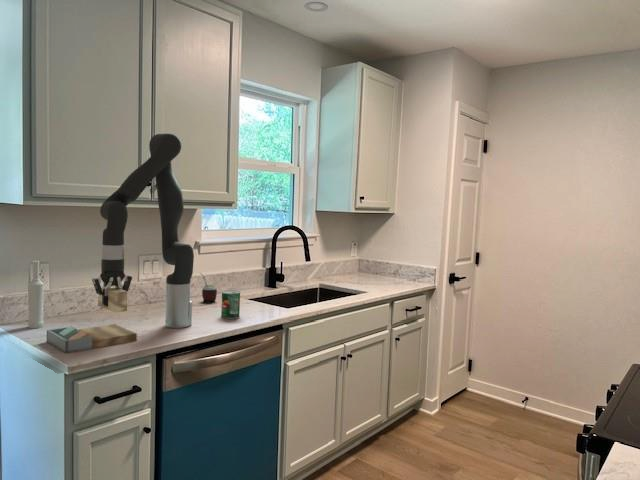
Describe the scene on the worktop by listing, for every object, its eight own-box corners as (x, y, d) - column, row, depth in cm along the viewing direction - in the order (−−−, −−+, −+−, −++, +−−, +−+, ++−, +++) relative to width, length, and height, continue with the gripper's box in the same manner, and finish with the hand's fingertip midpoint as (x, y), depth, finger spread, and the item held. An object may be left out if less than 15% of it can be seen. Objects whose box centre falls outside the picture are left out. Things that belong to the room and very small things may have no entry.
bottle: (46, 325, 190) (46, 260, 188) (39, 328, 185) (39, 262, 183) (32, 324, 190) (32, 260, 188) (25, 328, 185) (25, 261, 183)
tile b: (84, 336, 168) (81, 330, 167) (89, 339, 165) (86, 333, 164) (71, 344, 165) (68, 338, 164) (77, 347, 162) (73, 341, 161)
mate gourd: (217, 301, 249) (218, 271, 248) (214, 304, 241) (214, 273, 240) (203, 300, 249) (204, 270, 248) (198, 303, 241) (199, 272, 240)
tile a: (74, 331, 174) (70, 325, 173) (79, 334, 171) (76, 328, 170) (61, 338, 171) (58, 333, 170) (66, 341, 168) (63, 335, 167)
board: (114, 330, 187) (114, 324, 187) (136, 340, 175) (136, 333, 175) (71, 337, 175) (71, 330, 175) (92, 348, 164) (92, 341, 164)
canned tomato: (217, 317, 215) (218, 292, 214) (228, 313, 222) (229, 289, 221) (232, 319, 212) (232, 294, 211) (243, 316, 219) (243, 291, 218)
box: (71, 337, 175) (71, 326, 175) (92, 348, 164) (92, 336, 164) (46, 341, 169) (46, 330, 169) (65, 353, 158) (65, 341, 158)
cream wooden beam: (109, 304, 183) (109, 285, 182) (126, 311, 173) (127, 291, 173) (98, 305, 180) (98, 286, 179) (115, 312, 170) (116, 292, 170)
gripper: (127, 255, 183) (126, 301, 184) (88, 257, 173) (87, 306, 174) (137, 257, 178) (136, 304, 179) (97, 259, 168) (96, 309, 169)
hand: (112, 305), depth 176 cm, fingers closed on cream wooden beam, 4 cm apart
